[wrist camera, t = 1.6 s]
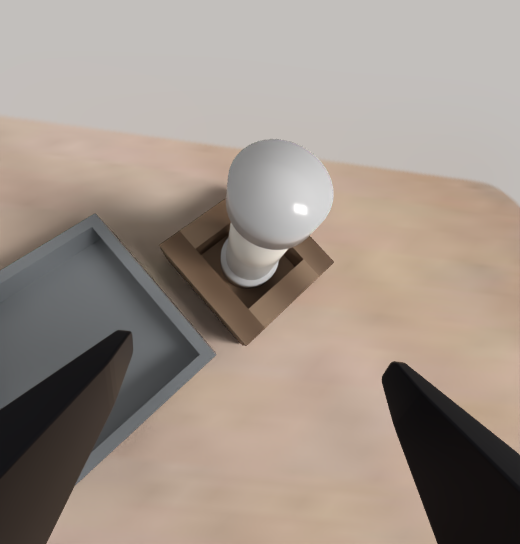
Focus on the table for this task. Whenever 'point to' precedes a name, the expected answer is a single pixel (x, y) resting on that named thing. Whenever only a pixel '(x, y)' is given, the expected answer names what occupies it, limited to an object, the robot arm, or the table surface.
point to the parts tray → (94, 325)
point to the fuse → (271, 208)
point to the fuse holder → (225, 296)
